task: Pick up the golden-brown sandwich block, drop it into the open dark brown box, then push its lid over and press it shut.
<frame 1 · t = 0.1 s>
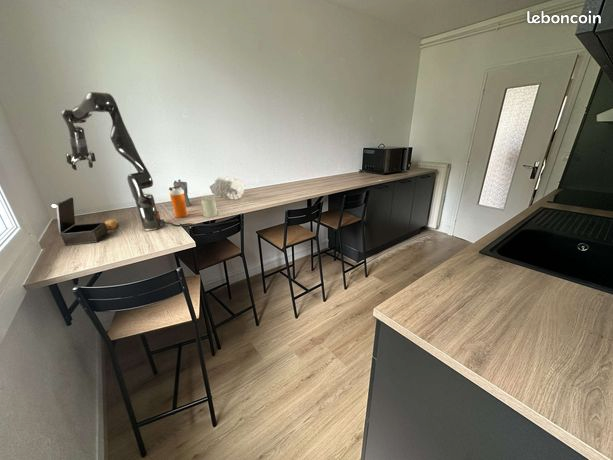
hand: (83, 168, 162), 31 cm above the worktop, tool tilted 20°, fingers open, 8 cm apart
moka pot: (183, 205, 191), on the worktop
can: (210, 214, 172), on the worktop
crumpled white cloth: (229, 198, 208), on the worktop
shaker bottle: (181, 216, 170), on the worktop
dark brown box: (88, 239, 138), on the worktop
lid: (61, 214, 130), point 15 cm above the worktop, hinge at 75.0°
sandwich: (110, 227, 152), on the worktop
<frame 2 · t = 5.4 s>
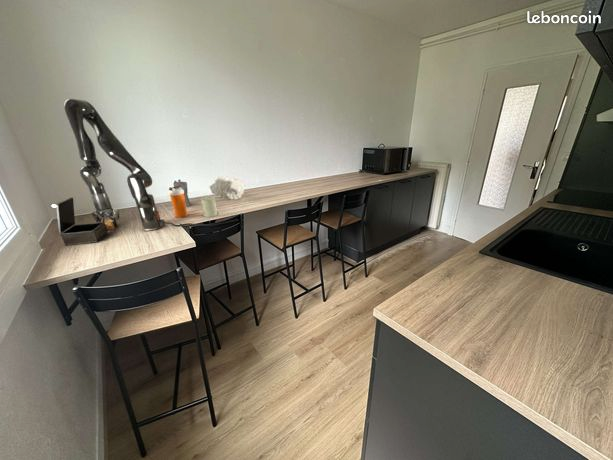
hand: (110, 227, 152), 0 cm above the worktop, tool pointing down, fingers closed on sandwich, 5 cm apart
sandwich: (110, 227, 152), on the worktop, touching gripper
everything else where it was.
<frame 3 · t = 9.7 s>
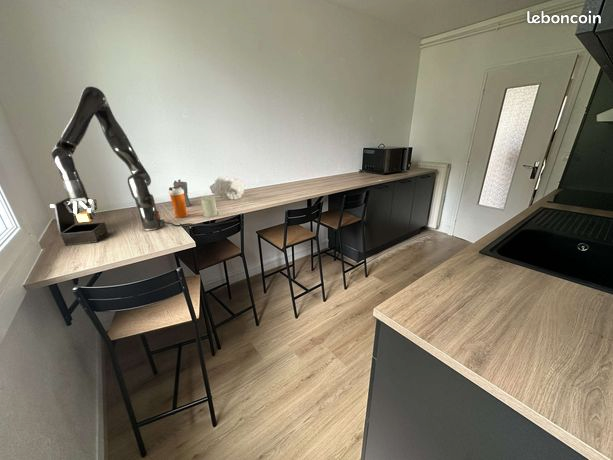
hand: (86, 219, 134), 12 cm above the worktop, tool pointing down, fingers closed on sandwich, 5 cm apart
lid: (60, 214, 130), point 15 cm above the worktop, hinge at 78.3°
sandwich: (86, 219, 134), point 11 cm above the worktop, touching gripper
everything else where it was.
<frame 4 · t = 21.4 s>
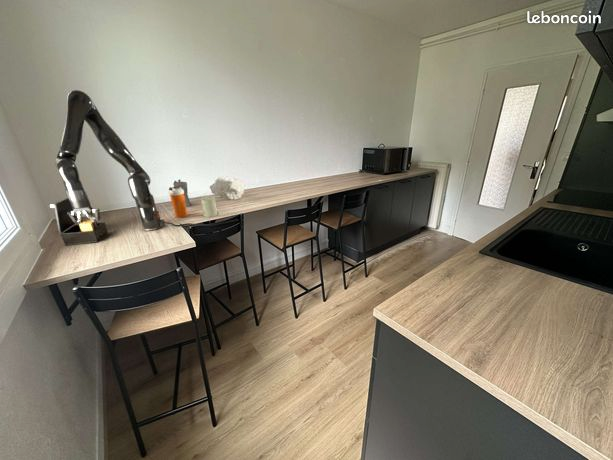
hand: (90, 228, 136), 6 cm above the worktop, tool pointing down, fingers closed on sandwich, 5 cm apart
sandwich: (90, 228, 136), point 6 cm above the worktop, touching gripper
everything else where it was.
when the fingers open (8 cm above the worktop, at t = 23.6 s): sandwich drops 7 cm, resting on dark brown box.
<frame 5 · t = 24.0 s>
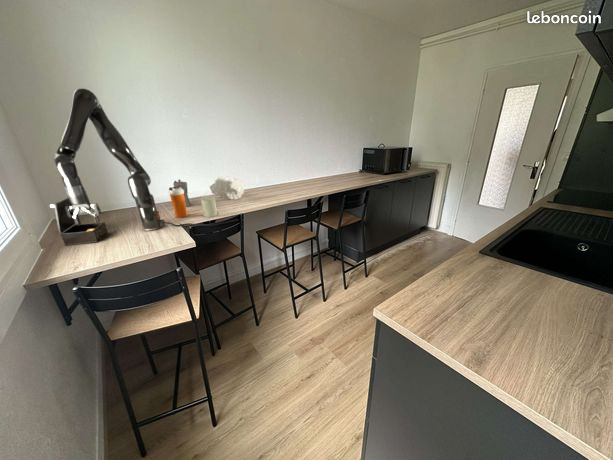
hand: (88, 223, 135), 9 cm above the worktop, tool pointing down, fingers open, 8 cm apart
sandwich: (93, 237, 138), point 1 cm above the worktop, touching dark brown box
everything else where it was.
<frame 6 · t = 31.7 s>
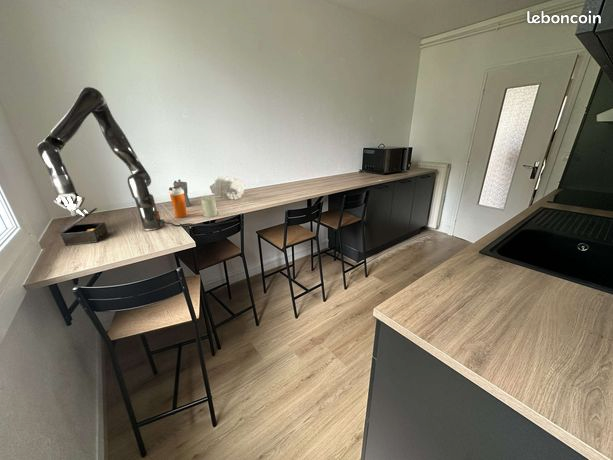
hand: (76, 215, 132), 14 cm above the worktop, tool pointing down, fingers closed
lid: (75, 217, 132), point 13 cm above the worktop, hinge at 30.8°, touching gripper
everything else where it was.
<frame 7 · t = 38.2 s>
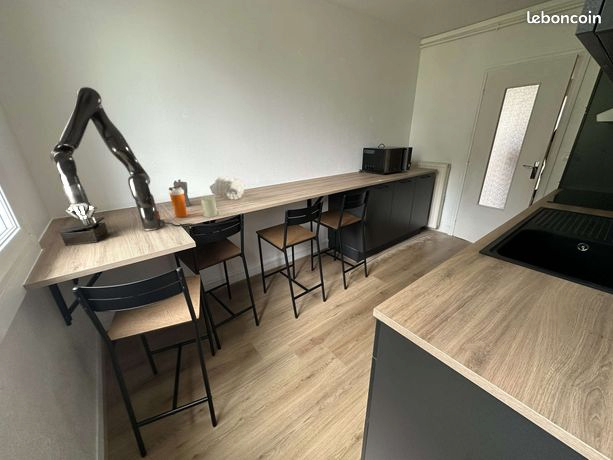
hand: (87, 225, 131), 10 cm above the worktop, tool pointing down, fingers closed
lid: (81, 221, 134), point 10 cm above the worktop, hinge at 8.6°, touching gripper
everything else where it was.
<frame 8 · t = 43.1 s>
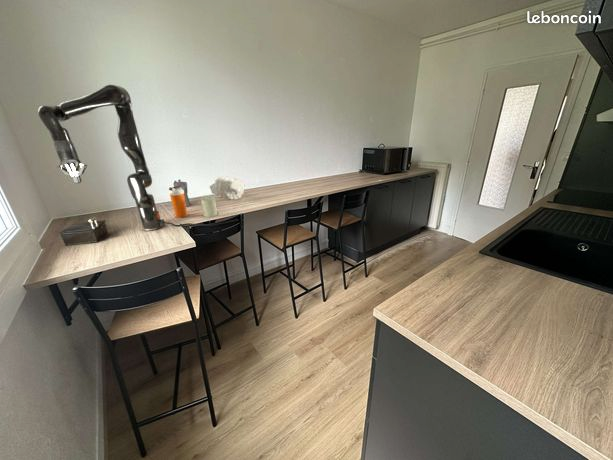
hand: (78, 182, 135), 29 cm above the worktop, tool pointing down, fingers closed
lid: (82, 223, 134), point 9 cm above the worktop, hinge at 1.1°
everything else where it was.
at the end: sandwich inside the target area in the dark brown box (3.1 cm from its centre), point 0.8 cm above the dark brown box's base; lid at +1° (first picture: +75°) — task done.
